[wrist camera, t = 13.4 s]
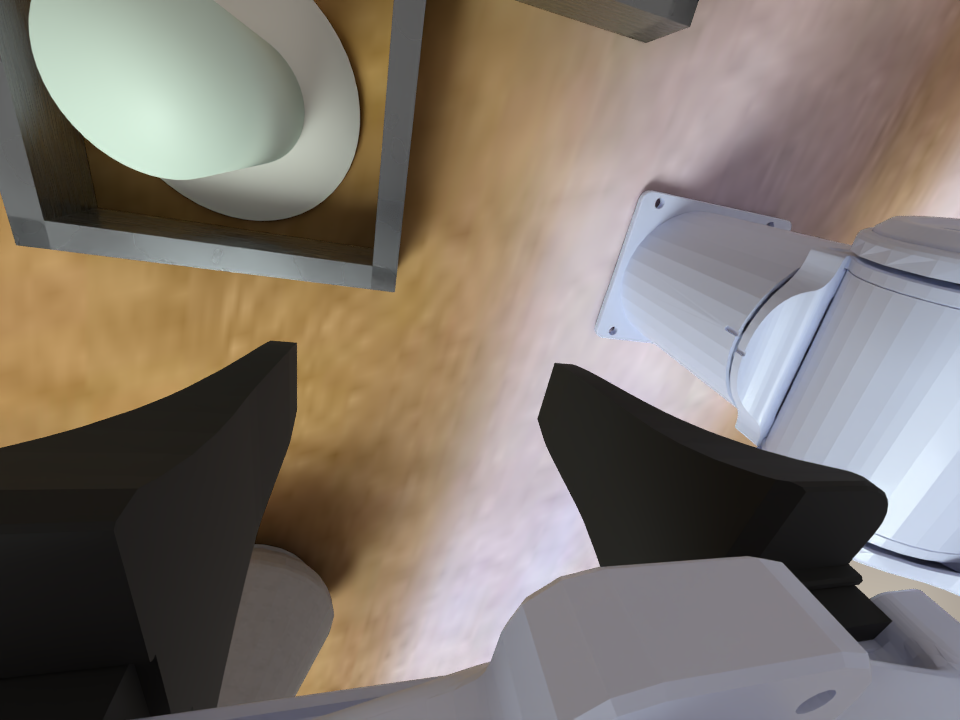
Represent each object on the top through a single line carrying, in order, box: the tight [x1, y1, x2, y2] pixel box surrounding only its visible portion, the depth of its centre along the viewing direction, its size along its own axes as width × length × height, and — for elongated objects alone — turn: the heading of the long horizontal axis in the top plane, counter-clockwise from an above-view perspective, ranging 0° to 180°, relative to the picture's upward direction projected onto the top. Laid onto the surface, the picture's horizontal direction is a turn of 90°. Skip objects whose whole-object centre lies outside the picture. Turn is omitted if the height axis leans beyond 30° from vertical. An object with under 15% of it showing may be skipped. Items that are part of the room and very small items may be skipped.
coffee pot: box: [217, 544, 334, 708], centre depth 23 cm, size 21×12×15 cm, turn 79°
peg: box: [29, 0, 305, 180], centre depth 13 cm, size 4×4×7 cm
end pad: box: [161, 0, 360, 221], centre depth 16 cm, size 9×9×1 cm
